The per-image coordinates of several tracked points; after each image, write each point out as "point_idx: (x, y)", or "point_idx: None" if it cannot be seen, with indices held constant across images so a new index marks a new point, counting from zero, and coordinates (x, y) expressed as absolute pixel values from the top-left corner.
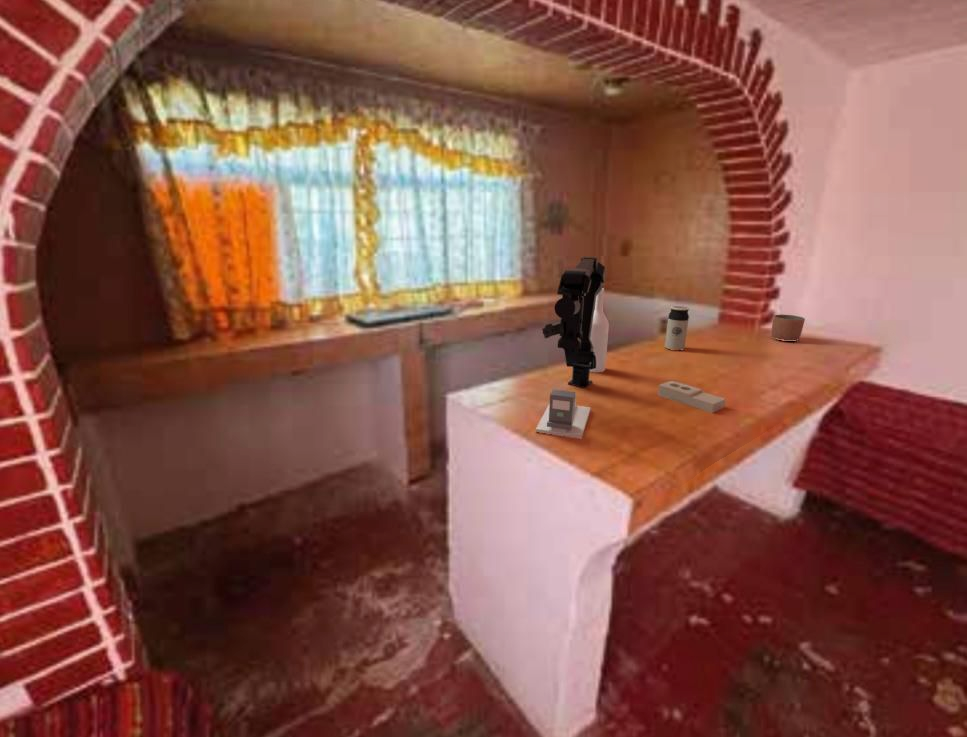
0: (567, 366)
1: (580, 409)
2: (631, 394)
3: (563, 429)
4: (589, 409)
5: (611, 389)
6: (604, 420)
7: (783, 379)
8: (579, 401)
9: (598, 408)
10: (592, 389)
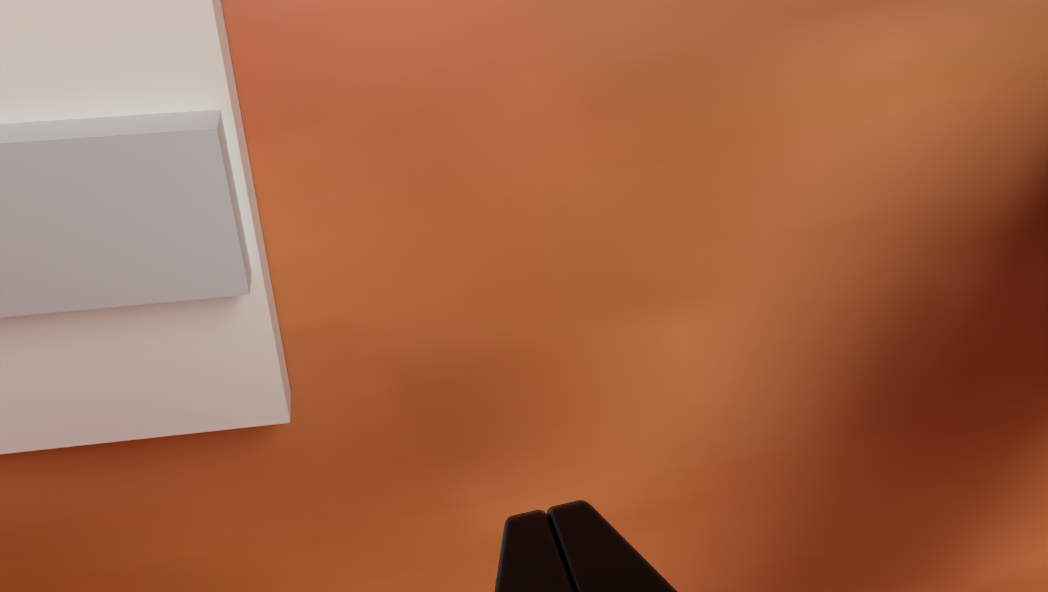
0: (509, 524)
1: (149, 344)
2: (900, 586)
3: None
4: (210, 427)
5: (1033, 434)
6: (82, 551)
7: None
8: (558, 226)
9: (405, 444)
10: (1028, 274)
